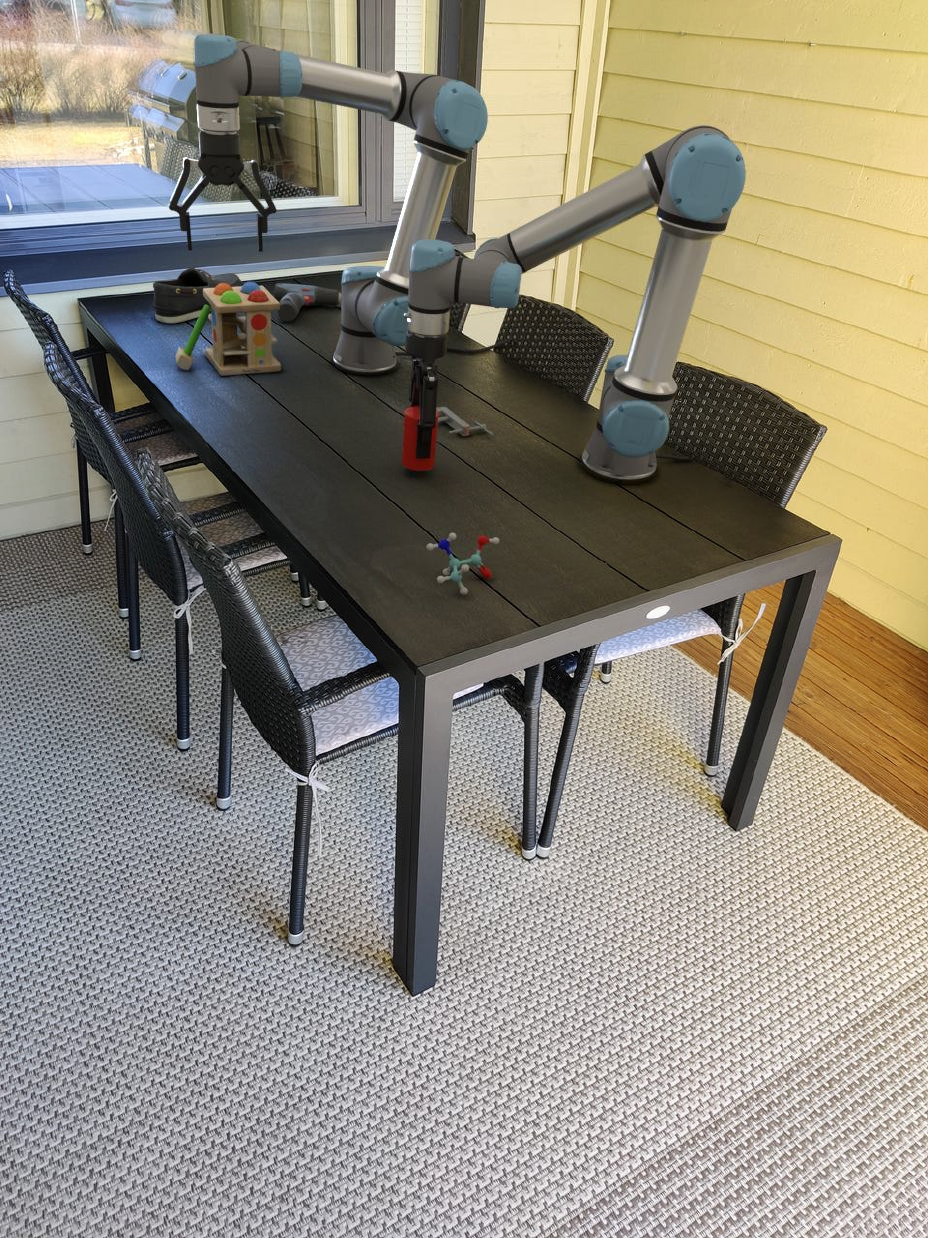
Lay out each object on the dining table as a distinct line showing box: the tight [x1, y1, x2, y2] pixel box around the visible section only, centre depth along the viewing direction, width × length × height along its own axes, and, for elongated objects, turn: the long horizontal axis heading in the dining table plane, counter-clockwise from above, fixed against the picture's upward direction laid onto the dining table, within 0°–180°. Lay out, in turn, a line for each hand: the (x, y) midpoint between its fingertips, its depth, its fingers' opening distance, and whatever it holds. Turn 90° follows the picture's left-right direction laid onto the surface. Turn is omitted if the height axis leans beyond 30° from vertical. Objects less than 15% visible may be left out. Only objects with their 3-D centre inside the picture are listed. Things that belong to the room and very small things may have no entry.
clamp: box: [436, 406, 495, 438], centre depth 210 cm, size 15×2×10 cm
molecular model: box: [426, 532, 500, 596], centre depth 158 cm, size 12×10×10 cm
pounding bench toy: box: [174, 281, 282, 377], centre depth 225 cm, size 23×14×18 cm, turn 116°
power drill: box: [274, 282, 342, 322], centre depth 265 cm, size 5×19×20 cm
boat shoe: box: [152, 267, 243, 324], centre depth 261 cm, size 13×33×10 cm, turn 147°
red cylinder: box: [401, 406, 438, 472], centre depth 188 cm, size 6×6×10 cm
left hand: (225, 249), depth 194 cm, fingers open, 13 cm apart
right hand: (419, 449), depth 189 cm, fingers closed on red cylinder, 6 cm apart
